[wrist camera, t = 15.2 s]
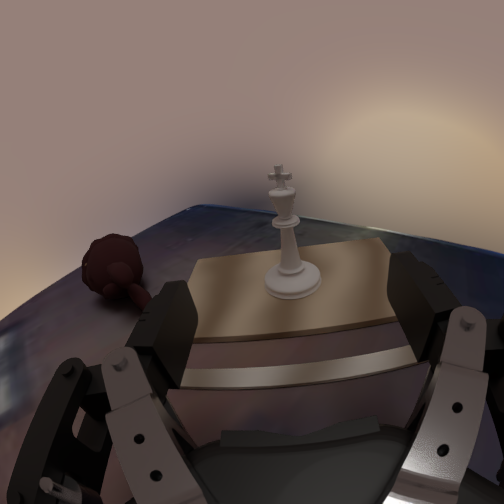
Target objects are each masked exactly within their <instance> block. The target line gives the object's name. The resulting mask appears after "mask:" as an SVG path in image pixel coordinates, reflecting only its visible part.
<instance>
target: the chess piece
mask: <svg viewBox="0 0 504 504" xmlns="http://www.w3.org/2000/svg"><path fill="white" fill-rule="evenodd" d="M274 169H275V173H270V174H268V179H269V180H276V182H277V187H276V188H274V189H273V190H271V191H270V192H269V194H268V195H269V198H270V199H271V201H272V203H273V205H274V207H275V210H276V211H277V213H278V217H276V218H274V219H273V222H272V225H273V226H274V227H276V228H280V229H281V262H280V263H279V264H277V265H275V266H273V267H272V268H270V269H269V270H268V271H267V273H266V275H265V278H264V280H265V284H264V285H265V289H266V291H267V292H268V293H269V294H270V295H272V296H274V297H277V298H280V299H299V298H303V297H306V296H308V295H310V294H312V293H314V292H315V291H316V290H317V289H318V288H319V287H320V285H321V276H320V271H319V269H318V268H317V267H316V266H315V265H314V264H312V263H309V262H306V261H302V260H301V259H300V256H299V252H298V248H297V244H296V240H295V235H294V230H293V227H294V226H296V225H298V224H299V223H300V220H299V217H298V216H296V215H292V214H291V213H292V209H293V203H294V199H295V194H296V191H295V189H294V188H291V187H287V186H285V181H284V180H290V179H292V175H291V173H283V166H282V165H275V166H274Z"/></svg>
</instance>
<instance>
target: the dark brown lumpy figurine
mask: <svg viewBox="0 0 504 504" xmlns="http://www.w3.org/2000/svg"><path fill="white" fill-rule="evenodd" d="M142 274H143V265H142V262H141V258H140V255H139V252H138V247H137V245H135V243H134V241H133V239H132V238H131V237H129V236H122V235H119V234H109V235H107V236H105V237H103V238H101V239H97V240H94V241H93V242H92V243H91V245H90V248H89V250H88V251H87V253H86V254H85V255H84V257H83V260H82V281H83V282H84V283H85V284H86V285H87V286H88V287H89V289H90V290H91V291H95V292H97V293H98V294H100V295H102V296H104V298H105V299H118V298H124V297H128V296H130V297H131V299H132V300H133V302H134V303H135V304H136V305H137V306H138V307H139V308H140V309H141V310H142V311H143V310H144V308H145V307H146V305H147V303H148V302H149V301H150V300H151V299H152V298H151V296H150V294H149V292H147V291H146V290H145V289H143V288H142V287H141V286H139V284H140V280H141V277H142Z"/></svg>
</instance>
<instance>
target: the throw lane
mask: <svg viewBox="0 0 504 504" xmlns="http://www.w3.org/2000/svg"><path fill="white" fill-rule="evenodd" d="M297 248H298V252H299V256H300V259H301V260H302V261H306V262H309V263H312V264H314V265H315V266H316V267H317V268H318V269H319V271H320V276H321V285H320V287H319V288H318V289H317V290H316V291H315V292H314V293H312V294H310V295H308V296H306V297H303V298H299V299H280V298H277V297H274V296H272V295H270V294H269V293H268V292H267V291H266V289H265V285H264V284H265V280H264V278H265V275H266V273H267V271H268V270H269V269H270V268H272V267H273V266H275V265H277V264H279V263H280V262H281V249H280V250H272V251H264V252H255V253H247V254H239V255H230V256H222V257H214V258H206V259H198V261H197V263H196V265H195V268H194V270H193V272H192V275H191V277H190V279H189V281H188V284H187V285H188V288H189V291H190V293H191V296H192V299H193V301H194V304H195V306H196V309H197V312H198V326H197V329H196V333H195V336H194V340H193V343H215V342H236V341H252V340H266V339H277V338H288V337H297V336H306V335H314V334H322V333H330V332H337V331H343V330H350V329H356V328H362V327H368V326H374V325H379V324H384V323H390V322H395V321H398V319H397V317H396V315H395V313H394V311H393V309H392V307H391V305H390V303H389V300H388V297H387V280H388V270H389V260H390V255H391V253H390V252H389V251H388V249H387V248H386V247H385V245H384V244H383V242H382V241H381V240H380V238H371V239H362V240H354V241H346V242H338V243H330V244H321V245H313V246H305V247H297ZM427 361H429V360H427ZM427 361H424V362H427ZM424 362H420V363H424ZM420 363H418V362H417V360H416V358H415V355H414V353H413V351H412V349H411V346H410V345H408V346H404V347H400V348H395V349H391V350H386V351H381V352H376V353H371V354H366V355H360V356H355V357H349V358H342V359H336V360H329V361H321V362H313V363H305V364H295V365H285V366H273V367H257V368H235V369H185V371H184V375H183V378H182V382H181V385H180V388H181V389H207V390H240V389H266V388H281V387H293V386H303V385H312V384H320V383H328V382H335V381H342V380H348V379H354V378H359V377H365V376H370V375H375V374H379V373H384V372H388V371H393V370H397V369H401V368H405V367H409V366H413V365H417V364H420Z"/></svg>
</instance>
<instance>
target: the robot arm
mask: <svg viewBox="0 0 504 504" xmlns="http://www.w3.org/2000/svg"><path fill="white" fill-rule="evenodd" d="M387 297H388V300H389V303H390V305H391V307H392V309H393V311H394V313H395V315H396V317H397V319H398V321H399V323H400V325H401V327H402V329H403V331H404V333H405V335H406V338H407V340H408V342H409V344H410V346H411V349H412V351H413V353H414V355H415V358H416V360H417V362H418V363H420V362H424V361H427V360H429V363H430V367H429V370H428V372H427V375H426V378H425V381H424V384H423V387H422V390H421V392H420V395H419V398H418V400H417V403H416V405H415V408H414V410H413V412H412V414H411V416H410V418H409V420H408V422H407V424H406V426H405V428H402V427H398V426H394V425H387V424H378V419H377V415H374V416H370V417H365V418H361V419H356V420H351V421H345V422H339V423H337V424H334V425H332V426H329V427H327V428H324V429H321V430H318V431H316V432H313V433H310V434H307V435H304V436H289V435H283V434H276V433H270V432H265V431H259V430H256V431H223V430H222V432H221V440H216V441H213V442H210V443H207V444H205V445H202V446H200V447H198V446H197V445H196V443H195V442H194V441H193V439H192V438H191V437H190V435H189V434H188V432H187V431H186V429H185V427H184V426H183V424H182V422H181V420H180V419H179V417H178V415H177V413H176V411H175V410H174V408H173V406H172V404H171V402H170V400H169V398H168V397H167V396H166V395H167V391H168V389H180V385H181V382H182V378H183V375H184V371H185V367H186V364H187V360H188V357H189V353H190V350H191V346H192V343H193V340H194V336H195V333H196V329H197V326H198V312H197V309H196V306H195V304H194V301H193V299H192V296H191V293H190V291H189V288H188V285H187V283H186V282H185V281H184V280H180V281H171V282H166V283H165V284H164V286H163V288H162V289H161V291H160V293H159V295H155V296H154V297H153V298H152V299H151V300H150V301H149V302H148V303H147V305H146V307H145V308H144V310H143V312H142V313H143V314H141V316H140V318H139V322H137V323H136V325H135V327H134V329H133V331H132V333H131V335H130V337H129V339H128V341H127V343H126V345H125V347H120V348H117V349H115V350H113V351H111V352H110V353H109V354H108V355H107V356H106V357H105V358H104V360H103V362H102V364H99V365H95V366H90V367H86V365H85V364H84V363H83V362H82V360H81V359H79V358H70V359H67V360H66V361H64V362H63V363H62V364H61V365H60V366H59V367H58V369H57V370H56V372H55V374H54V376H53V378H52V380H51V382H50V384H49V386H48V388H47V390H46V392H45V394H44V396H43V398H42V400H41V402H40V404H39V406H38V408H37V411H36V413H35V415H34V417H33V420H32V422H31V424H30V427H29V429H28V431H27V434H26V436H25V439H24V441H23V444H22V447H21V449H20V452H19V455H18V458H17V461H16V464H15V467H14V470H13V473H12V476H11V479H10V483H9V486H8V490H7V504H103V502H102V499H101V497H100V492H101V488H102V483H103V479H104V475H105V471H106V467H107V463H108V459H109V455H110V451H111V448H112V444H113V445H114V448H115V451H116V454H117V457H118V459H119V462H120V465H121V467H122V470H123V473H124V475H125V477H126V480H127V482H128V485H129V487H130V489H131V492H132V494H133V496H134V497H133V498H132V499H131V500H129V501H128V502H126V503H125V504H504V459H503V461H502V463H501V467H500V469H499V470H498V472H497V475H496V479H497V481H498V482H500V483H499V486H498V485H496V484H494V483H493V482H491V481H489V480H487V479H486V478H484V477H482V476H481V475H479V474H477V473H476V472H474V471H472V470H471V469H469V468H467V465H468V463H469V460H470V457H471V454H472V451H473V447H474V444H475V441H476V437H477V434H478V430H479V426H480V422H481V418H482V413H483V408H484V404H485V399H486V401H487V404H488V407H489V410H490V413H491V416H492V419H493V422H494V425H495V428H496V431H497V435H498V438H499V442H500V445H501V449H502V453H503V458H504V314H503V316H502V319H485V317H484V316H483V315H482V314H481V313H480V312H479V311H478V310H476V309H474V308H472V307H468V306H462V305H461V304H460V303H459V301H458V300H457V299H456V297H455V296H454V295H453V293H452V292H451V291H450V289H449V288H448V287H447V285H446V284H444V282H443V280H442V279H441V278H440V277H439V275H438V274H437V273H436V272H435V270H434V269H433V268H432V267H430V266H429V265H427V264H425V263H424V262H419V261H418V260H417V259H416V258H415V256H414V255H413V254H412V253H411V252H410V251H404V252H398V253H392V254H391V255H390V260H389V270H388V280H387ZM79 407H81V408H82V409H83V410H84V411H85V412H86V414H85V416H84V419H83V422H82V424H81V427H80V430H79V433H78V436H77V438H75V437H74V435H73V432H72V425H73V422H74V419H75V417H76V414H77V412H78V409H79Z"/></svg>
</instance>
